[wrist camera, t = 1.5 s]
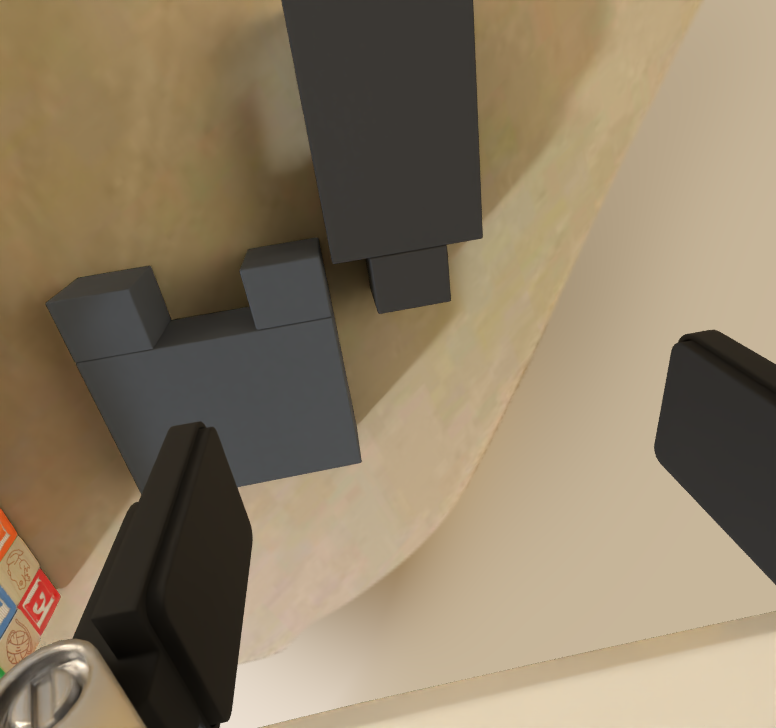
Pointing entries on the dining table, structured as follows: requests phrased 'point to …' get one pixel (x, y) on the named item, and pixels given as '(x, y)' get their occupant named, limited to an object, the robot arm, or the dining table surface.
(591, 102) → the dining table surface
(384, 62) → the black tabbed block
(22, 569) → the stack of blocks
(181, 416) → the grey block
